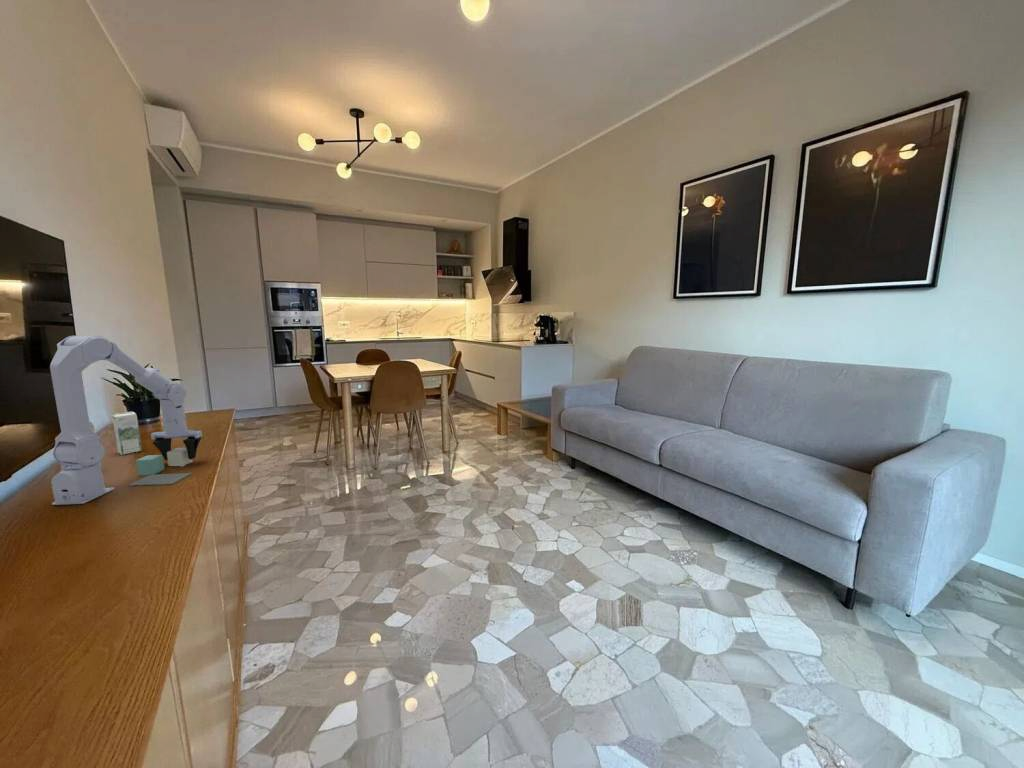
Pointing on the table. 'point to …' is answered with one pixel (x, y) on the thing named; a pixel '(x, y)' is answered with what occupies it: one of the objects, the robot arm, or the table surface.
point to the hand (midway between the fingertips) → (180, 458)
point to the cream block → (178, 457)
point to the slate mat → (160, 479)
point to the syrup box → (126, 432)
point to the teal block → (150, 464)
